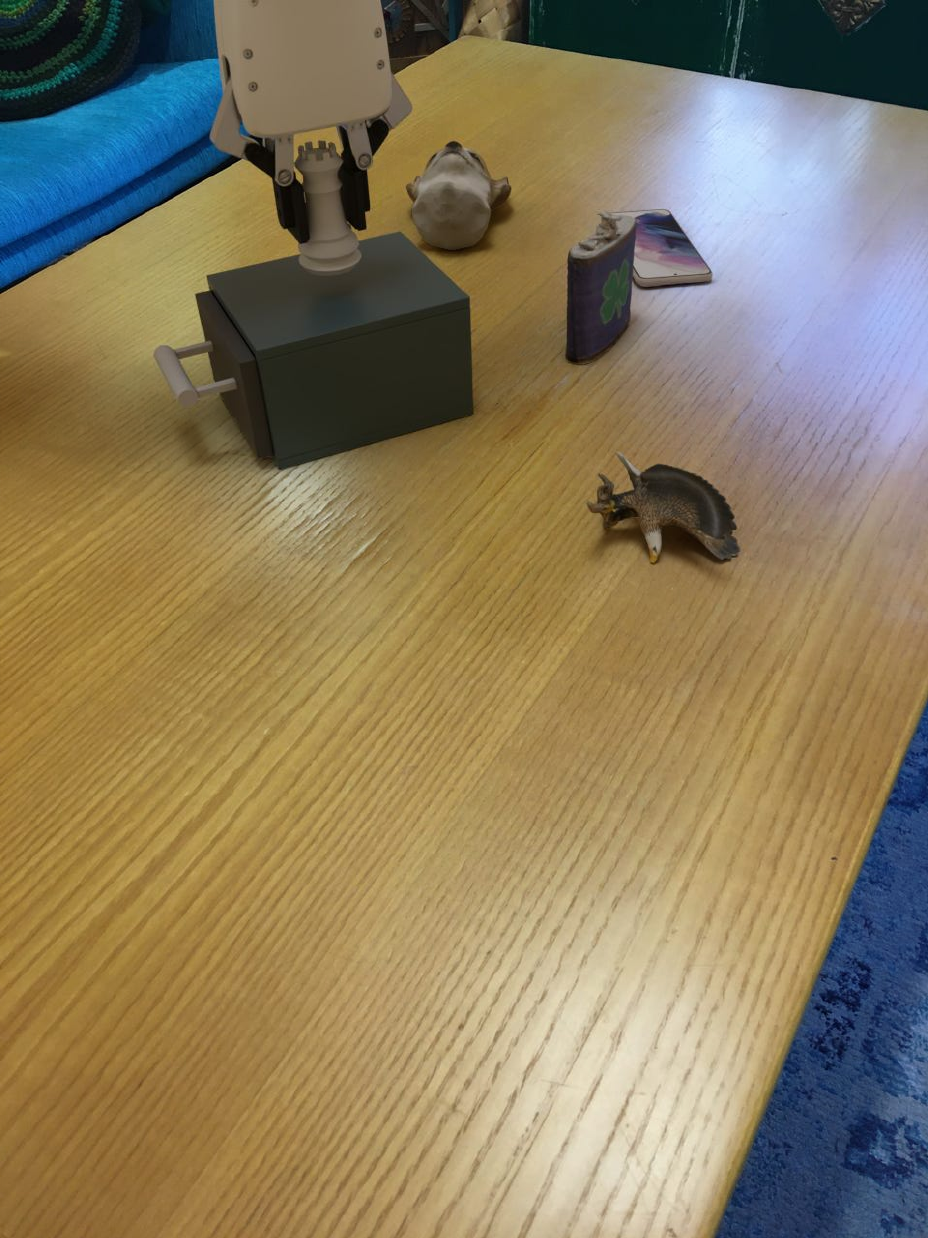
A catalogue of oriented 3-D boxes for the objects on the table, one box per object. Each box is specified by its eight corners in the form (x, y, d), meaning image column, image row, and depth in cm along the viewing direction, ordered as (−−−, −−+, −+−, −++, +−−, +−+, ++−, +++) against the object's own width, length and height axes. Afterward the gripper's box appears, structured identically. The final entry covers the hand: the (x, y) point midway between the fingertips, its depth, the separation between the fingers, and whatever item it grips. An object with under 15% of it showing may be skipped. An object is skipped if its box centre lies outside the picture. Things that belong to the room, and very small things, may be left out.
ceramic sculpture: (387, 164, 95) (407, 117, 106) (393, 259, 100) (412, 205, 112) (506, 165, 94) (514, 117, 106) (505, 261, 100) (513, 206, 111)
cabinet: (278, 470, 77) (256, 350, 70) (229, 388, 85) (205, 274, 78) (473, 414, 81) (470, 296, 75) (408, 342, 90) (400, 230, 83)
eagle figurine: (586, 569, 66) (736, 568, 63) (583, 453, 65) (735, 446, 62) (610, 556, 73) (745, 555, 70) (607, 451, 72) (745, 445, 69)
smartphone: (668, 207, 106) (715, 274, 95) (667, 215, 106) (713, 282, 95) (599, 212, 105) (638, 280, 94) (598, 220, 106) (637, 288, 95)
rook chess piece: (291, 257, 76) (274, 142, 71) (350, 245, 77) (338, 130, 72) (310, 283, 73) (293, 164, 68) (371, 269, 74) (360, 152, 69)
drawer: (200, 476, 75) (176, 378, 69) (161, 399, 82) (137, 306, 77) (442, 408, 80) (437, 312, 75) (385, 341, 88) (377, 250, 82)
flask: (608, 312, 92) (617, 188, 85) (639, 320, 91) (651, 195, 84) (557, 360, 87) (562, 231, 79) (590, 369, 85) (597, 239, 78)
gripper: (396, -110, 66) (414, 188, 79) (130, -77, 61) (195, 234, 74) (446, -90, 61) (457, 225, 74) (162, -52, 56) (225, 277, 69)
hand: (326, 226), depth 74 cm, fingers closed on rook chess piece, 3 cm apart
